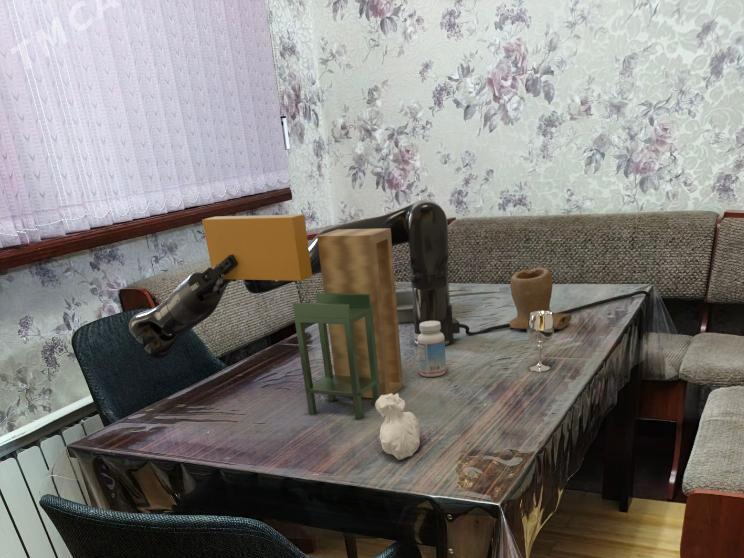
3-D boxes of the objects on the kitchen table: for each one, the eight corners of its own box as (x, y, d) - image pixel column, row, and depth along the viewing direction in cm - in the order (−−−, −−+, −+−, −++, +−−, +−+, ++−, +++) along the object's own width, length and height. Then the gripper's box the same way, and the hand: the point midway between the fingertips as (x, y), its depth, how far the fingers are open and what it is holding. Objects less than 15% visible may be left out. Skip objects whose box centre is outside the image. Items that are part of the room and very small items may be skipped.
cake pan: (463, 306, 213) (463, 290, 210) (421, 327, 195) (420, 310, 193) (395, 302, 225) (393, 287, 223) (349, 321, 207) (348, 305, 205)
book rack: (309, 414, 144) (292, 303, 133) (331, 399, 150) (317, 292, 139) (360, 419, 139) (347, 305, 128) (381, 403, 146) (370, 293, 134)
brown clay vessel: (502, 334, 183) (502, 273, 175) (516, 322, 192) (516, 264, 185) (560, 336, 177) (563, 274, 169) (572, 324, 186) (574, 264, 178)
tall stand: (337, 395, 152) (316, 236, 136) (355, 383, 158) (337, 229, 142) (386, 399, 147) (371, 235, 131) (403, 386, 153) (390, 228, 137)
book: (213, 279, 142) (201, 219, 136) (226, 274, 145) (214, 216, 139) (301, 280, 133) (292, 217, 128) (312, 276, 136) (304, 214, 131)
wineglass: (552, 372, 154) (554, 316, 148) (525, 372, 155) (526, 317, 149) (553, 364, 159) (554, 309, 153) (527, 364, 160) (527, 310, 154)
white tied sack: (411, 448, 130) (372, 400, 128) (441, 426, 126) (401, 376, 124) (388, 476, 121) (345, 425, 118) (420, 454, 116) (376, 400, 114)
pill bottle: (449, 369, 161) (447, 319, 156) (442, 378, 156) (439, 327, 151) (424, 368, 163) (421, 319, 158) (416, 377, 158) (412, 326, 153)
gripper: (159, 290, 143) (207, 245, 133) (204, 275, 154) (252, 232, 143) (180, 324, 145) (230, 281, 134) (224, 306, 156) (273, 266, 145)
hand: (241, 256), depth 139 cm, fingers closed on book, 4 cm apart
